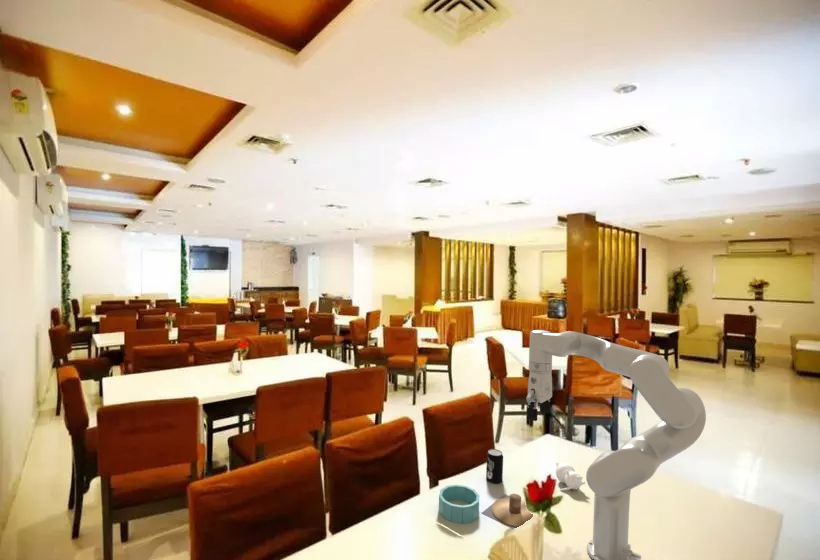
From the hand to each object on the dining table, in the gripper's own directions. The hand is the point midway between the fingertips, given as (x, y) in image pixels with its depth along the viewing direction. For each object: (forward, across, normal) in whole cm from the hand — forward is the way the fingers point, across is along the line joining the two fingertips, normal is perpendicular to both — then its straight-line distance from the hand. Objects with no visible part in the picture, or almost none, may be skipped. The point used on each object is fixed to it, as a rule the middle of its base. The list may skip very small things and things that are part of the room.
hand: (538, 416), depth 137 cm
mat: (+37, -1, +7) cm, 37 cm away
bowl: (+37, -14, +22) cm, 45 cm away
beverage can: (+37, +14, +24) cm, 46 cm away
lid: (+36, -1, +7) cm, 37 cm away
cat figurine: (+37, +32, +1) cm, 49 cm away
